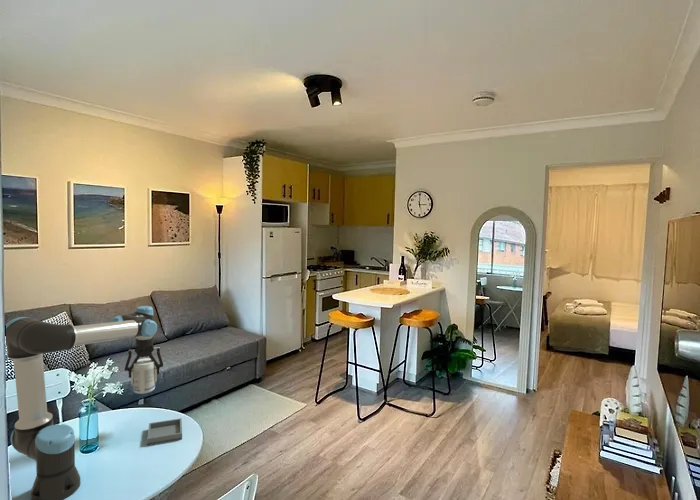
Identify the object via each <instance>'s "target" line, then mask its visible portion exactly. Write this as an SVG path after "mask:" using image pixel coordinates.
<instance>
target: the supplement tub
mask: <svg viewBox="0 0 700 500" xmlns="http://www.w3.org/2000/svg"><path fill="white" fill-rule="evenodd" d="M155 367H156V366H155V365H154V361H152V360H151V359H150V357H145V358H144V357H143V358H139V359H138V361H137V362H136V363H134V366H133V369H132V370H133V385H132V386H133V388H132V389H133V393H135V394H139V395H141V394H142V395H143V394H148V393H151V392H152V391H154V390H155V388H156V382H155Z"/></svg>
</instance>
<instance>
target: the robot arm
mask: <svg viewBox="0 0 700 500" xmlns="http://www.w3.org/2000/svg"><path fill="white" fill-rule="evenodd" d="M5 325H6V345H5V346H6V352H7V358H8V359H9V360H12V361H13V366H14V376H15V388H16V389H15V390H16V399H17V412H18V418H19V419H18V420H17V421H16V422H15V423H14V430H12V432H11V434H10V444H11V446H12V447H13V448H14V450H16V452H18V453H21V454H23V455H25V456H26V457H28V458H30V459H32V460H33V461H35V465H36V467H35V468H36V469H35V470H36V476H35V479H34V481H33V484H32V488H31V490H30V500H64V499H67V498H68V497H70V496H71V495H73V494H74V493H75V492H77V490H78V489H79V488H80V486H81V475H80V473H79V470H78V469H77V467H76V464H75V460H76V459H75V458H76V456H75V455H76V453H75V450H76V449H75V448H76V447H75V442H76V435H75V430H74V428H73V427H72V426H71V425H68V424H64V423H61V424H60V423H56V424H54V419H53V416H54V415H53V413H51V412H49V411H48V404H47V393H46V382H45V381H46V380H45V368H44V367H45V366H44V357H43V356H44V355H45V354H51V353H57V352H63V351H69V350H72V349H73V348H74V347H77V346H83V345H91V344H95V343H96V344H97V343H103V342H104V343H105V342H110V341H115V340H122V339H123V340H125V339H129V338H135V349H134V348H133V349H131V348H129V349H128V352H127V353H128V356H127V359H126V362H125V365H124V371H126V372H128V378H129V379H130V378H131V381H130V385H132V386H133V366H134V363H136V362H137V361H138V360H139V359H141V358H144V357H145V358H150V359H151V360H152V361H154V365H155V383H156V382H157V380H158V377H157V376H158V375H160V368H163V367H164V361H163V357H162V354H161V347H160V346H157V347H155V346H154V338H153V337H154V335H155V334H156V333H157V331H158V324H157V323H156V321H154V308H153V307H152V306H151V305H140V306H138V307H136V308H135V312H131V313H127V314H121V315H120V314H119V315H117V316H113V317H112V318H111V319H110V321H108V322H100V323H91V324H83V325H73V324H70V323H64V324H56V323H51V322H47V321H42V320H39V319H36V318H34V317H28V316H20V317H16V318H13V319H11V320H10V321H7V323H5ZM153 352H155V353H156V354H157V355H156V356H157V358H158V361H157V360H156V358H155V357H154V355H153ZM134 353H135V354H136V356H135V357H134V360H133V361H132V363H131V365H130V362H131V360H132V359H131V358H132V355H133V354H134ZM158 362H159V363H158ZM129 365H130V366H129Z"/></svg>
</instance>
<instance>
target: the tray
mask: <svg viewBox="0 0 700 500" xmlns="http://www.w3.org/2000/svg"><path fill="white" fill-rule="evenodd" d="M146 440H147V442H146V443H147V444H146V445H147V446H151V444H152V445H155V444H156V443H157V444H161V443H162V442H163V443H168V441H169V442H174V440H175V441H179V440H183V422H182V417H180V418H175V419H168V420H162V421H161V420H160V421H156V422H149V423H148V431H147V439H146ZM163 443H162V444H163ZM157 444H156V445H157Z"/></svg>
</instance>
